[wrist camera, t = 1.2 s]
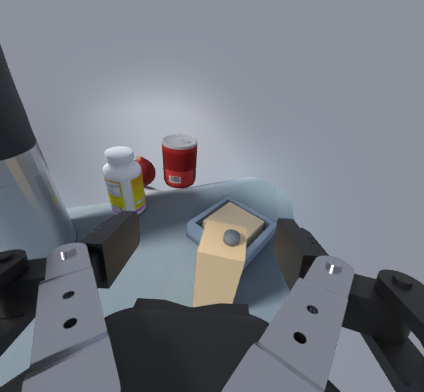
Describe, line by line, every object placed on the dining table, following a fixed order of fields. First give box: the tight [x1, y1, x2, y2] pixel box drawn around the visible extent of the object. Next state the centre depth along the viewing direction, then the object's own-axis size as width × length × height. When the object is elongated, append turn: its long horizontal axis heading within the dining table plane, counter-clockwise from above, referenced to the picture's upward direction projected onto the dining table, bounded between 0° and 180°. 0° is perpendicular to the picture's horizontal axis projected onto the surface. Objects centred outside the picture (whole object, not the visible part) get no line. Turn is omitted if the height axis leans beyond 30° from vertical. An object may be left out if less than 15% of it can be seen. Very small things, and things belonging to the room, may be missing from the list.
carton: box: [193, 220, 247, 307], centre depth 27 cm, size 5×5×13 cm
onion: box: [135, 156, 155, 186], centre depth 48 cm, size 6×6×8 cm
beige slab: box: [202, 202, 264, 248], centre depth 38 cm, size 8×8×3 cm
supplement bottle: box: [103, 146, 146, 215], centre depth 40 cm, size 7×7×13 cm
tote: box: [186, 195, 277, 272], centre depth 39 cm, size 12×12×4 cm
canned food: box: [162, 134, 197, 188], centre depth 51 cm, size 8×8×11 cm
